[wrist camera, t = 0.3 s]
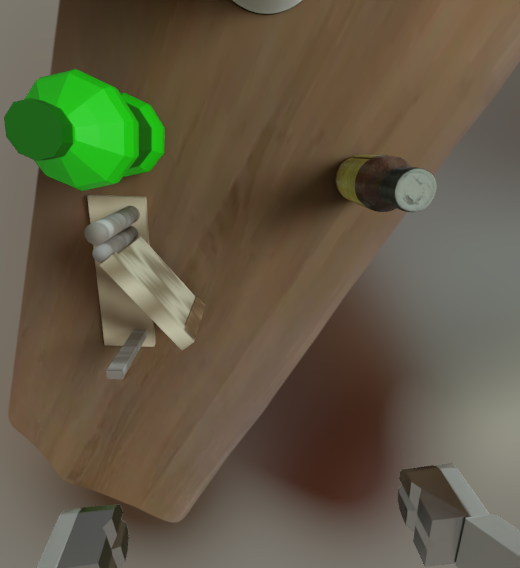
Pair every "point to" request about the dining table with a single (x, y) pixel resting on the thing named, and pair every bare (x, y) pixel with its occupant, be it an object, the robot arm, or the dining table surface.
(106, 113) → the plastic bottle
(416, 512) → the robot arm
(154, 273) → the gate
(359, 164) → the sauce bottle
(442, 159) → the dining table surface
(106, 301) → the wooden stand
